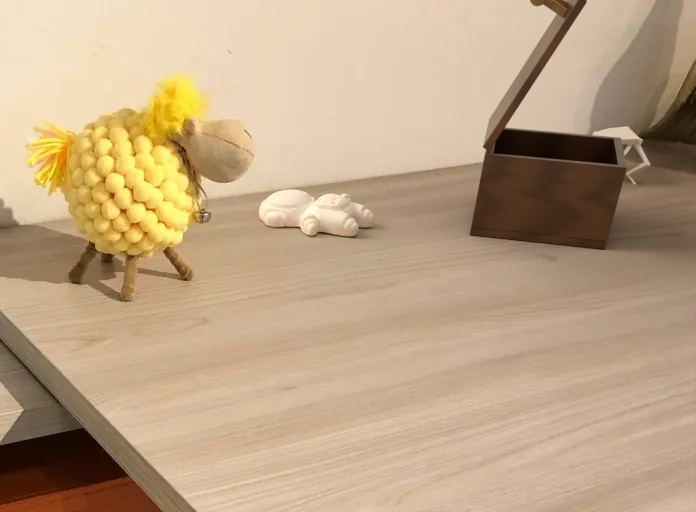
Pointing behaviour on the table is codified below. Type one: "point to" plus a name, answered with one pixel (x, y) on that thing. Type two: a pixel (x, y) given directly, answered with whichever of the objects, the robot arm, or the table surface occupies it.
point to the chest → (550, 188)
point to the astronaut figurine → (315, 213)
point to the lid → (533, 64)
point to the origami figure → (627, 138)
